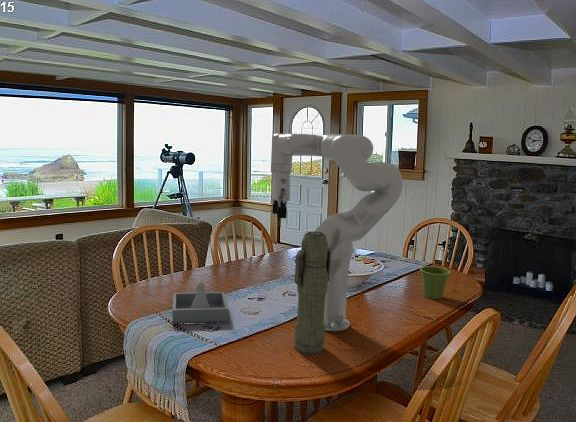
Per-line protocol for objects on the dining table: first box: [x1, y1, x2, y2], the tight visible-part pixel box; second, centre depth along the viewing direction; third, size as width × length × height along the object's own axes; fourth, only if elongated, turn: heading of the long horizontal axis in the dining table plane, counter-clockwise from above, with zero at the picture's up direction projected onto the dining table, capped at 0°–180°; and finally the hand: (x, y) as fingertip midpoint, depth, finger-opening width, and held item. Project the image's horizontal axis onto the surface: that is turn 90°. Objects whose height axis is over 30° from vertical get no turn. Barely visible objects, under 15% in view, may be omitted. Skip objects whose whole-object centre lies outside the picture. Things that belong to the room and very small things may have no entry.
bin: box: [171, 291, 230, 325], centre depth 179 cm, size 18×18×5 cm
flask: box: [191, 282, 210, 309], centre depth 178 cm, size 7×7×10 cm
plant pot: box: [419, 265, 451, 300], centre depth 211 cm, size 12×12×11 cm
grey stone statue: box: [293, 231, 331, 355], centre depth 153 cm, size 9×12×35 cm
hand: (279, 215), depth 189 cm, fingers open, 9 cm apart
